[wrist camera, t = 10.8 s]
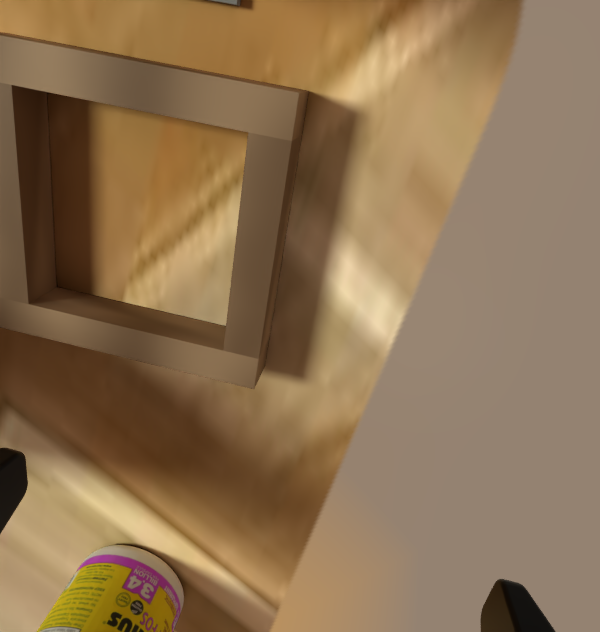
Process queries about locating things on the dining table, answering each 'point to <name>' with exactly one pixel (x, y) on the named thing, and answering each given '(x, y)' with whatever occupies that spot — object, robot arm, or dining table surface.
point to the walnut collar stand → (37, 210)
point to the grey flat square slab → (228, 2)
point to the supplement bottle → (118, 594)
